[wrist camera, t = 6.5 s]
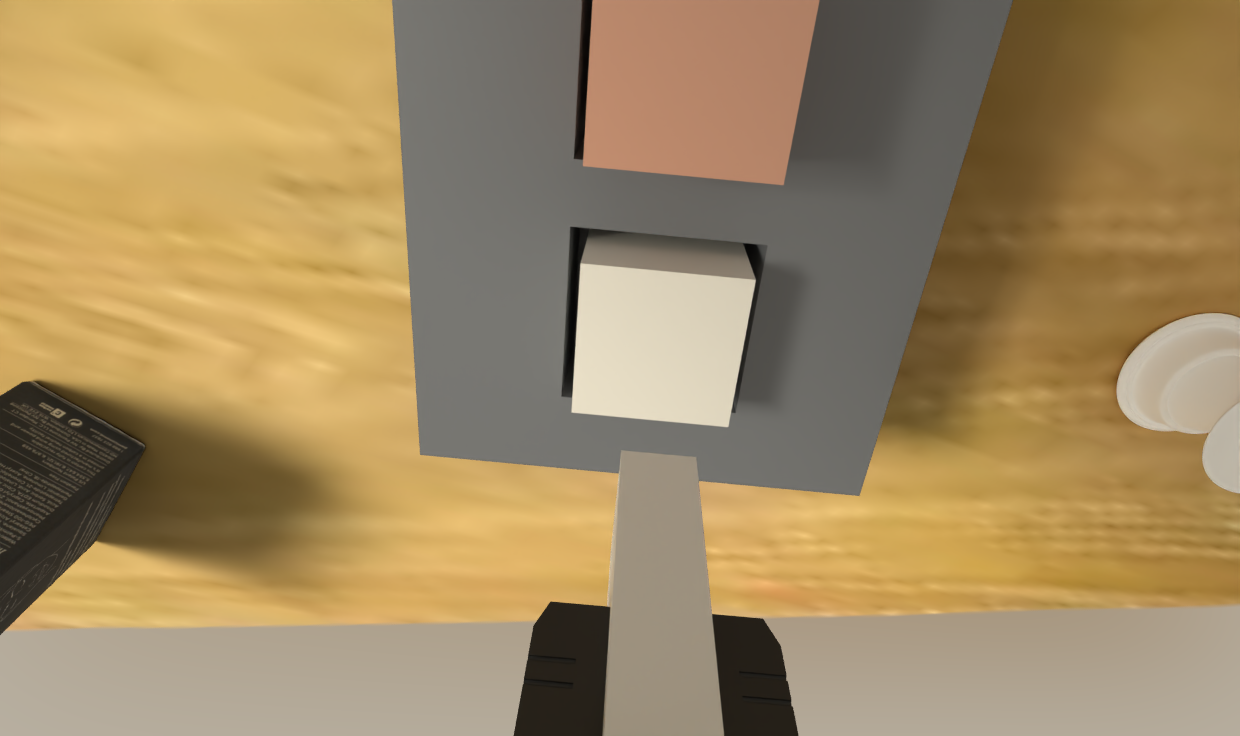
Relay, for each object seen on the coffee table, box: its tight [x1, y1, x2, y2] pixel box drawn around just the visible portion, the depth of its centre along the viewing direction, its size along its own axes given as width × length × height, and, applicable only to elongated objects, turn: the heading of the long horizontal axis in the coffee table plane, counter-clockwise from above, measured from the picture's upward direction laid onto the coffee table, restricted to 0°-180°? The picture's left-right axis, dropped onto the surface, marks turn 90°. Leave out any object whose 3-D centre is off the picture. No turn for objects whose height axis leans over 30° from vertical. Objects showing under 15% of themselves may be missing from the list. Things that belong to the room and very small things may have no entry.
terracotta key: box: [583, 0, 819, 185], centre depth 18 cm, size 5×5×4 cm
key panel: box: [392, 0, 1013, 496], centre depth 21 cm, size 16×28×5 cm, turn 175°
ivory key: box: [571, 228, 756, 427], centre depth 23 cm, size 5×5×4 cm
